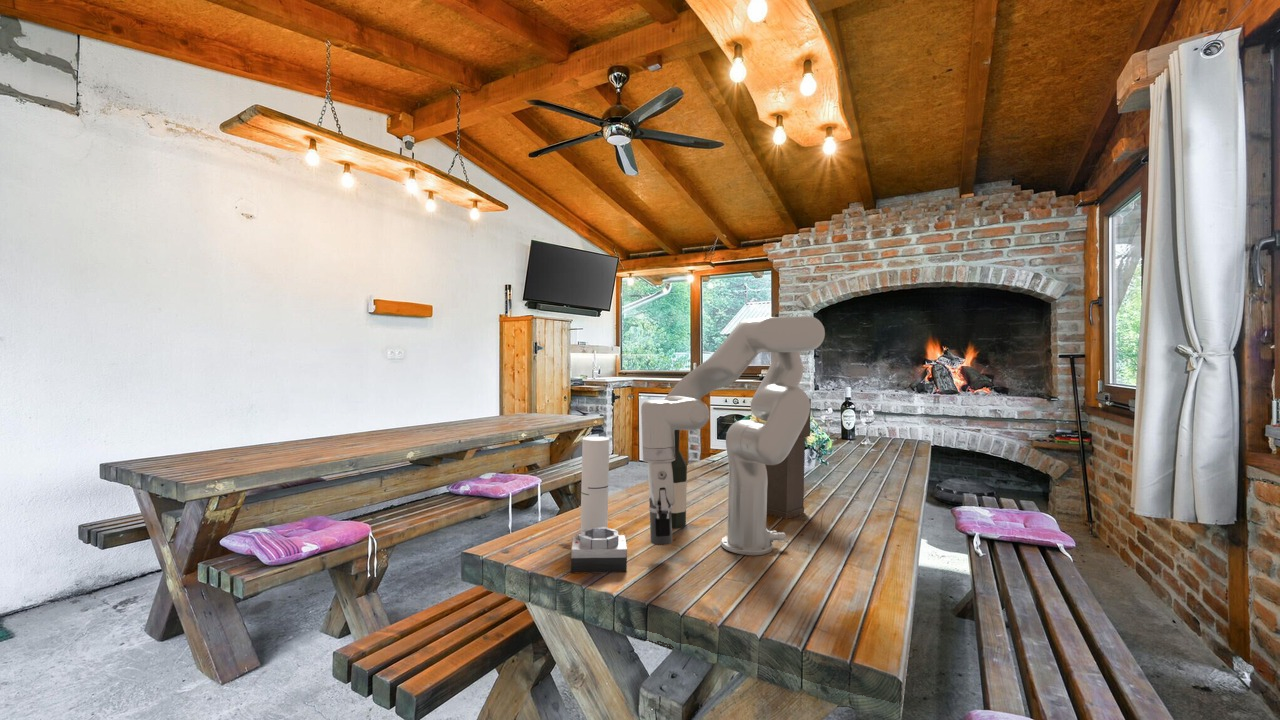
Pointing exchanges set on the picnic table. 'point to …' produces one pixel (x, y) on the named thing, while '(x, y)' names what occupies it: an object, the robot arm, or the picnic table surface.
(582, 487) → the cylindrical container
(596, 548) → the octagonal metal flange
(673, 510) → the wine bottle
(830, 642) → the picnic table surface
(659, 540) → the flashlight
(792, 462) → the brown footed pillar
